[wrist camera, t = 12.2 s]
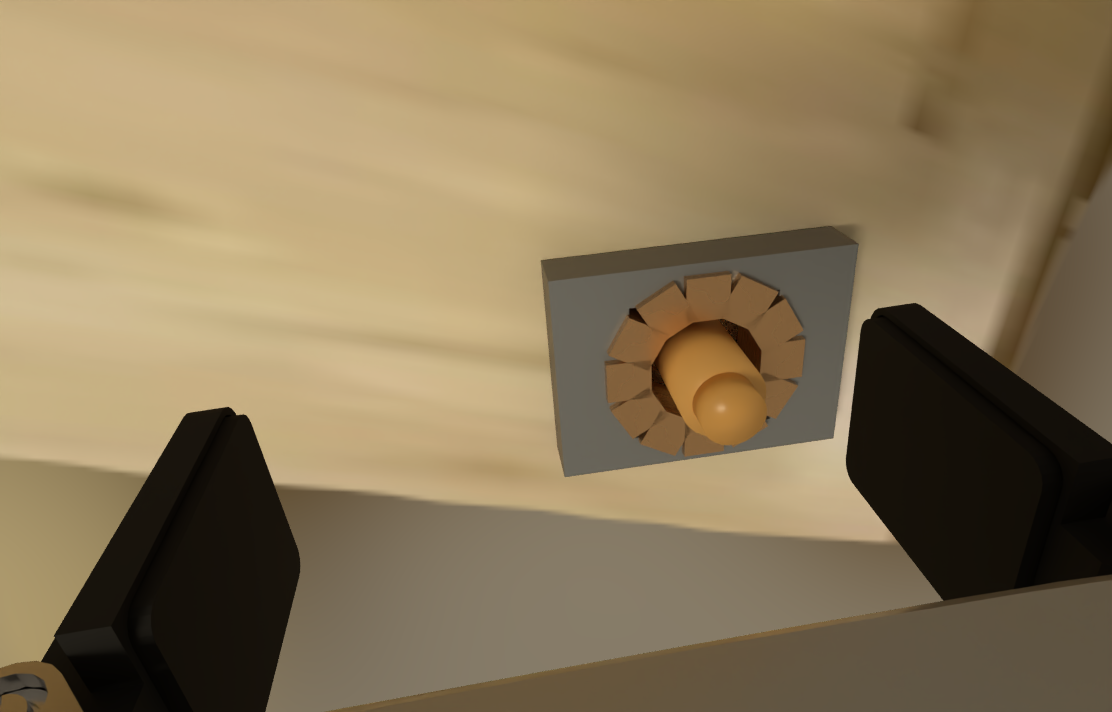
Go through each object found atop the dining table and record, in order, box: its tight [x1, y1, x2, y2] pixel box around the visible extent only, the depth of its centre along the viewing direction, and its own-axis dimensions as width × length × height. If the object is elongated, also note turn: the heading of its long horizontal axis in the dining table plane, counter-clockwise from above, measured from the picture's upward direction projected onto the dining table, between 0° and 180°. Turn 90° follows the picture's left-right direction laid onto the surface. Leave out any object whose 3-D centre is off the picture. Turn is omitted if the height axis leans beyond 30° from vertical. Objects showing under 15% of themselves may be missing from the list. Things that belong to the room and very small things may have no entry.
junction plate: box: [541, 226, 858, 477], centre depth 40 cm, size 16×12×3 cm
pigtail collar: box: [604, 271, 805, 457], centre depth 40 cm, size 11×11×4 cm
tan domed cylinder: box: [654, 319, 767, 445], centre depth 38 cm, size 4×4×8 cm
